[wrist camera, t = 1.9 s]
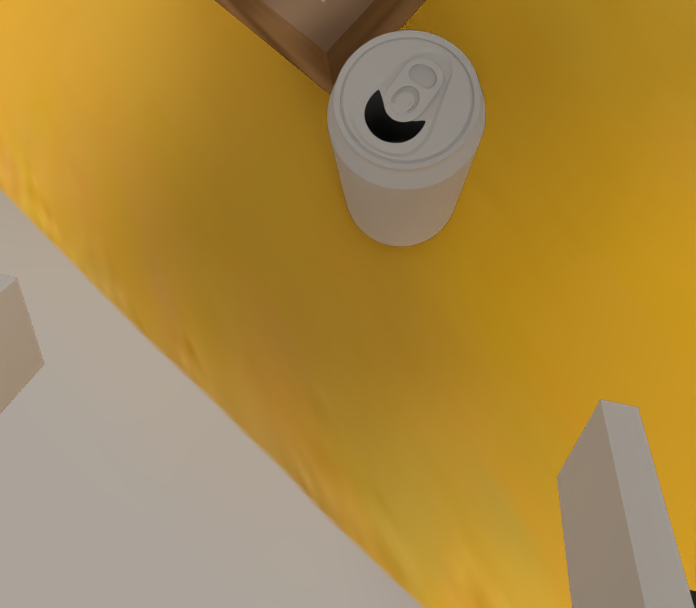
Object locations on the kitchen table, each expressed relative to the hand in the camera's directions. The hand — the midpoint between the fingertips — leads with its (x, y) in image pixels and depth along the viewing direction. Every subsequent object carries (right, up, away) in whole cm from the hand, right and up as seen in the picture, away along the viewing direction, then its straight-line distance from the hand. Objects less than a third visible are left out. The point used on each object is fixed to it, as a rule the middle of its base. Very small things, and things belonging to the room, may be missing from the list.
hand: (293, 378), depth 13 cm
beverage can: (+4, +8, +21) cm, 23 cm away
